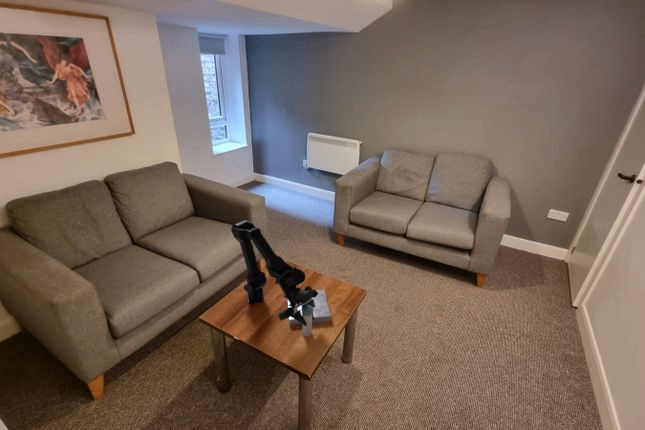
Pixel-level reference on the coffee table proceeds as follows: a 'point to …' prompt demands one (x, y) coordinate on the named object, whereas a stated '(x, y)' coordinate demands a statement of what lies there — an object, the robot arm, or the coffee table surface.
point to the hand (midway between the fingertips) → (309, 322)
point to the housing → (316, 309)
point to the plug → (307, 320)
